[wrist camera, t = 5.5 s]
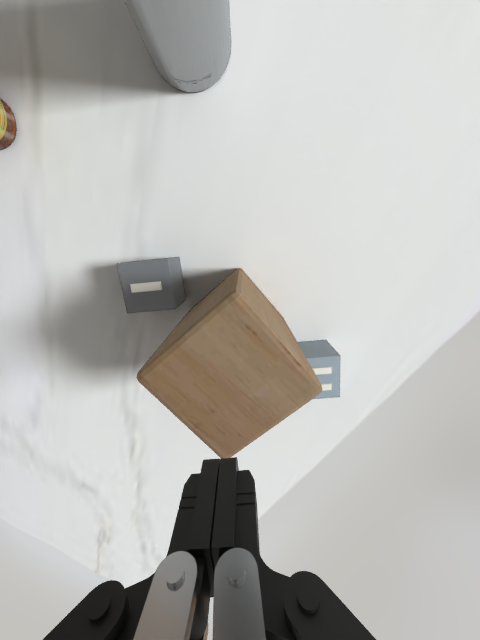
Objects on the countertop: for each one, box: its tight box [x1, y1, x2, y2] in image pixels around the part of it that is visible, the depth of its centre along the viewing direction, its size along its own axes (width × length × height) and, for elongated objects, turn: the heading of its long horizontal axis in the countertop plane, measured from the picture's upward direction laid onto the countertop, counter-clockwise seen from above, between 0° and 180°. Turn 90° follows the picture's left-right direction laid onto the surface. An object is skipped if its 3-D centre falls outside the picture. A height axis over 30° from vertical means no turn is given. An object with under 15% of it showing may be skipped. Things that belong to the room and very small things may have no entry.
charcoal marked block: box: [117, 257, 186, 313], centre depth 34 cm, size 6×6×6 cm
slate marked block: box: [297, 340, 340, 399], centre depth 37 cm, size 6×6×6 cm
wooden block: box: [137, 268, 322, 459], centre depth 28 cm, size 10×10×20 cm
